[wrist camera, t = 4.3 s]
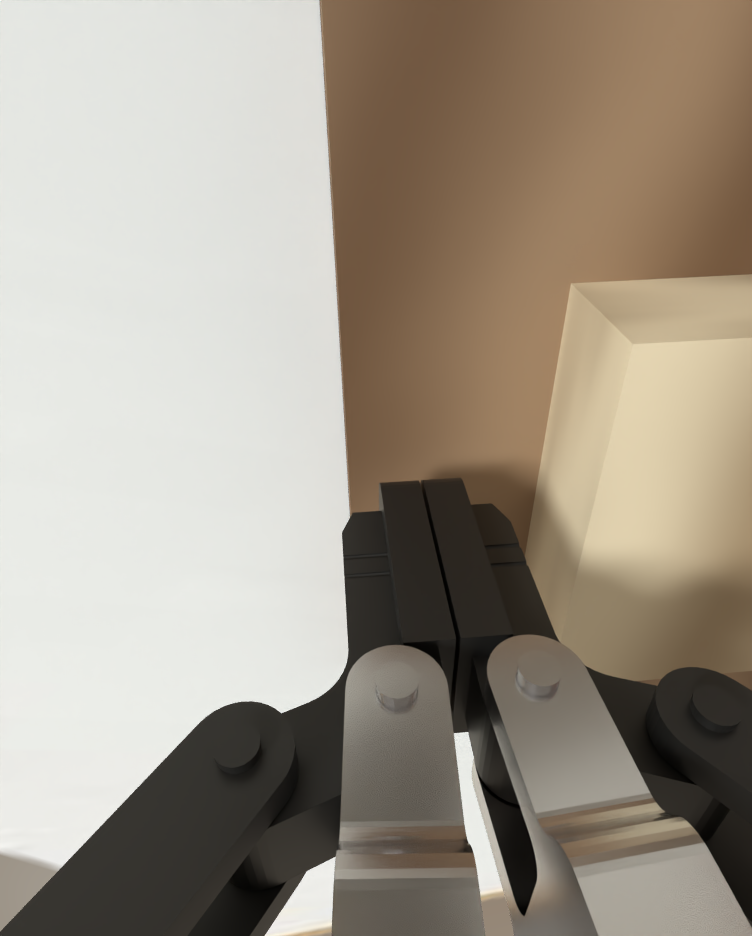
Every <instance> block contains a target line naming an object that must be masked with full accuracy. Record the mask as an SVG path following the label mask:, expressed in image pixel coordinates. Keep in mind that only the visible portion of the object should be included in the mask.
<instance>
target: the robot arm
mask: <svg viewBox="0 0 752 936" xmlns="http://www.w3.org/2000/svg"><path fill="white" fill-rule="evenodd" d="M342 540H343V557H344V576H345V594H346V612H347V630H348V648H349V651H348V660H347V665H346V667H345V669H344V672H343V674H342V675H341V677H340V679H339V680H338V681H337V682H336V684H335V685H334V686H333V687H332V688H331V689H330V690H328V691H327V692H326V693H325V694H323V695H322V696H320V697H319V698H317V699H315V700H313V701H311V702H309V703H306V704H304V705H301V706H299V707H297V708H294V709H292V710H289V711H287V712H284V713H282V714H281V713H280V712H279V711H277V710H276V709H275V708H273V707H271V706H269V705H266V704H263V703H259V702H238V703H233V704H230V705H227V706H224V707H222V708H220V709H218V710H216V711H214V712H213V713H211V714H210V715H208V716H207V717H206V718H205V719H204V720H202V721H201V722H200V723H199V724H198V725H197V726H196V727H195V728H194V729H193V730H192V732H191V733H190V734H189V735H188V736H187V737H186V738H185V739H184V740H183V741H182V742H181V743H180V744H179V745H178V746H177V747H176V748H175V749H174V750H173V751H172V752H171V753H170V755H169V756H168V757H167V758H166V759H165V760H164V761H163V762H162V763H161V764H160V765H159V766H158V767H157V768H156V769H155V770H154V771H153V772H152V773H151V774H150V775H149V777H148V778H147V779H146V780H145V781H144V782H143V783H142V784H141V785H140V786H139V787H138V788H137V789H136V790H135V791H134V792H133V793H132V794H131V795H130V796H129V797H128V799H127V800H126V801H125V802H124V803H123V804H122V805H121V806H120V807H119V808H118V809H117V810H116V811H115V812H114V813H113V814H112V815H111V816H110V817H109V818H108V819H107V821H106V822H105V823H104V824H103V825H102V826H101V827H100V828H99V829H98V830H97V831H96V832H95V833H94V834H93V835H92V836H91V837H90V838H89V839H88V840H87V841H86V843H85V844H84V845H83V846H82V847H81V848H80V849H79V850H78V851H77V852H76V853H75V854H74V855H73V856H72V857H71V858H70V859H69V860H68V861H67V862H66V863H65V865H64V866H63V867H62V868H61V869H60V870H59V871H58V872H57V873H56V874H55V875H54V876H53V877H52V878H51V879H50V880H49V881H48V882H47V883H46V884H45V885H44V887H43V888H42V889H41V890H40V891H39V892H38V893H37V894H36V895H35V896H34V897H33V898H32V899H31V900H30V901H29V902H28V903H27V904H26V905H25V906H24V907H23V909H22V910H21V911H20V912H19V913H18V914H17V915H16V916H15V917H14V918H13V919H12V920H11V921H10V922H9V923H8V924H7V925H6V926H5V927H4V928H3V930H2V931H1V932H0V936H265V934H266V933H267V931H268V930H269V928H270V927H271V925H272V924H273V922H274V921H275V919H276V918H277V916H278V915H279V913H280V912H281V910H282V909H283V907H284V906H285V904H286V902H287V901H288V899H289V898H290V896H291V895H292V893H293V892H294V890H295V889H296V887H297V886H298V884H299V883H300V881H301V880H302V878H303V876H304V875H305V873H306V871H308V870H310V869H312V868H314V867H316V866H318V865H320V864H322V863H324V862H326V861H328V860H330V859H331V858H333V857H335V856H336V859H335V872H334V891H333V914H332V936H485V930H484V922H483V914H482V906H481V898H480V890H479V882H478V875H477V869H476V864H475V858H474V854H473V850H472V847H471V845H470V844H469V843H468V841H467V837H466V832H465V825H464V817H463V809H462V800H461V792H460V783H459V775H458V766H457V758H456V749H455V741H454V733H460V732H469V737H470V742H471V746H472V751H473V755H474V759H473V766H472V781H473V786H474V790H475V793H476V797H477V800H478V804H479V807H480V811H481V814H482V818H483V821H484V825H485V828H486V832H487V835H488V839H489V842H490V846H491V849H492V853H493V856H494V860H495V863H496V867H497V870H498V874H499V877H500V881H501V884H502V888H503V891H504V895H505V898H506V902H507V905H508V909H509V912H510V917H511V921H512V926H513V932H514V936H752V690H750V689H749V688H747V687H745V686H744V685H742V684H740V683H739V682H737V681H735V680H734V679H732V678H730V677H728V676H726V675H724V674H721V673H719V672H717V671H713V670H710V669H706V668H699V667H684V668H679V669H676V670H673V671H671V672H669V673H667V674H666V675H665V676H664V677H663V678H662V679H661V681H660V682H659V684H658V686H656V685H651V684H646V683H642V682H637V681H632V680H627V679H622V678H617V677H613V676H609V675H606V674H603V673H600V672H597V671H595V670H593V669H591V668H589V667H587V666H585V665H584V664H583V662H582V661H581V660H580V658H579V657H578V656H577V655H576V654H575V653H574V652H573V651H572V650H570V649H569V648H568V647H566V646H565V645H563V644H562V643H560V641H559V640H558V638H557V636H556V634H555V632H554V629H553V627H552V624H551V622H550V619H549V617H548V614H547V611H546V609H545V606H544V604H543V601H542V599H541V596H540V594H539V591H538V589H537V586H536V584H535V581H534V579H533V576H532V574H531V571H530V569H529V566H527V564H526V559H525V556H524V554H523V551H522V549H521V547H520V546H519V541H518V538H517V536H516V533H515V531H514V528H513V526H512V523H511V521H510V520H509V519H508V518H507V517H506V516H505V515H504V514H503V513H502V512H500V511H499V510H498V509H497V508H496V507H495V506H494V505H493V504H492V503H488V504H473V505H471V503H470V500H469V497H468V494H467V491H466V488H465V485H464V482H463V480H462V478H445V479H429V480H421V482H419V480H416V481H400V482H384V483H379V511H369V512H354V513H352V515H351V517H350V519H349V521H348V523H347V525H346V526H345V528H344V530H343V532H342Z"/></svg>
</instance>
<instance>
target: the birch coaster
mask: <svg viewBox="0 0 752 936" xmlns="http://www.w3.org/2000/svg"><path fill="white" fill-rule="evenodd" d="M525 559H526V564H527V566H529V569H530V571H531V574H532V576H533V579H534V581H535V584H536V586H537V589H538V591H539V594H540V596H541V599H542V601H543V604H544V606H545V609H546V611H547V614H548V617H549V619H550V622H551V624H552V627H553V629H554V632H555V634H556V636H557V638H558V640H559V641H560V643H562V644H563V645H565V646H566V647H568V648H569V649H570V650H572V651H573V652H574V653H575V654H576V655H577V656H578V657H579V658H580V660H581V661H582V662H583V664H584V665H585V666H587V667H589V668H591V669H593V670H595V671H597V672H600V673H603V674H606V675H609V676H613V677H617V678H622V679H627V680H632V681H642V680H654V679H662V678H663V677H664V676H665V675H666V674H667V673H669V672H671V671H673V670H676V669H679V668H684V667H699V668H706V669H710V670H713V671H717V672H719V673H721V674H722V673H733V672H744V671H752V274H749V275H729V276H709V277H689V278H669V279H649V280H629V281H609V282H589V283H571V286H570V292H569V298H568V304H567V310H566V316H565V322H564V328H563V333H562V339H561V345H560V351H559V357H558V363H557V369H556V375H555V381H554V387H553V392H552V398H551V404H550V410H549V416H548V422H547V428H546V434H545V440H544V446H543V452H542V457H541V463H540V469H539V475H538V481H537V487H536V493H535V499H534V505H533V511H532V517H531V522H530V528H529V534H528V540H527V546H526V552H525Z"/></svg>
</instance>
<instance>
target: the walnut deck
mask: <svg viewBox="0 0 752 936" xmlns="http://www.w3.org/2000/svg"><path fill="white" fill-rule="evenodd" d="M320 16H321V33H322V50H323V67H324V84H325V101H326V118H327V135H328V152H329V168H330V185H331V202H332V219H333V236H334V253H335V270H336V287H337V304H338V321H339V338H340V355H341V372H342V389H343V405H344V422H345V439H346V456H347V473H348V490H349V507H350V517H351V515H352V513H354V512H369V511H379V483H384V482H400V481H416V480H419V482H421V480H429V479H445V478H462V480H463V482H464V485H465V488H466V491H467V494H468V497H469V500H470V503H471V505H473V504H488V503H492V504H493V505H494V506H495V507H496V508H497V509H498V510H499V511H500V512H502V513H503V514H504V515H505V516H506V517H507V518H508V519H509V520H510V521H511V523H512V526H513V528H514V531H515V533H516V536H517V538H518V541H519V546H520V547H521V549H522V551H523V554H524V556H525V552H526V546H527V540H528V534H529V528H530V522H531V517H532V511H533V505H534V499H535V493H536V487H537V481H538V475H539V469H540V463H541V457H542V452H543V446H544V440H545V434H546V428H547V422H548V416H549V410H550V404H551V398H552V392H553V387H554V381H555V375H556V369H557V363H558V357H559V351H560V345H561V339H562V333H563V328H564V322H565V316H566V310H567V304H568V298H569V292H570V286H571V283H589V282H609V281H629V280H649V279H669V278H689V277H709V276H729V275H749V274H752V0H320ZM722 674H724V675H726V676H728V677H730V678H732V679H734V680H735V681H737V682H739V683H740V684H742V685H744V686H745V687H747V688H749V689H750V690H752V671H744V672H733V673H722ZM660 681H661V679H654V680H642V681H637V682H642V683H646V684H651V685H656V686H658V684H659V682H660Z"/></svg>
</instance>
